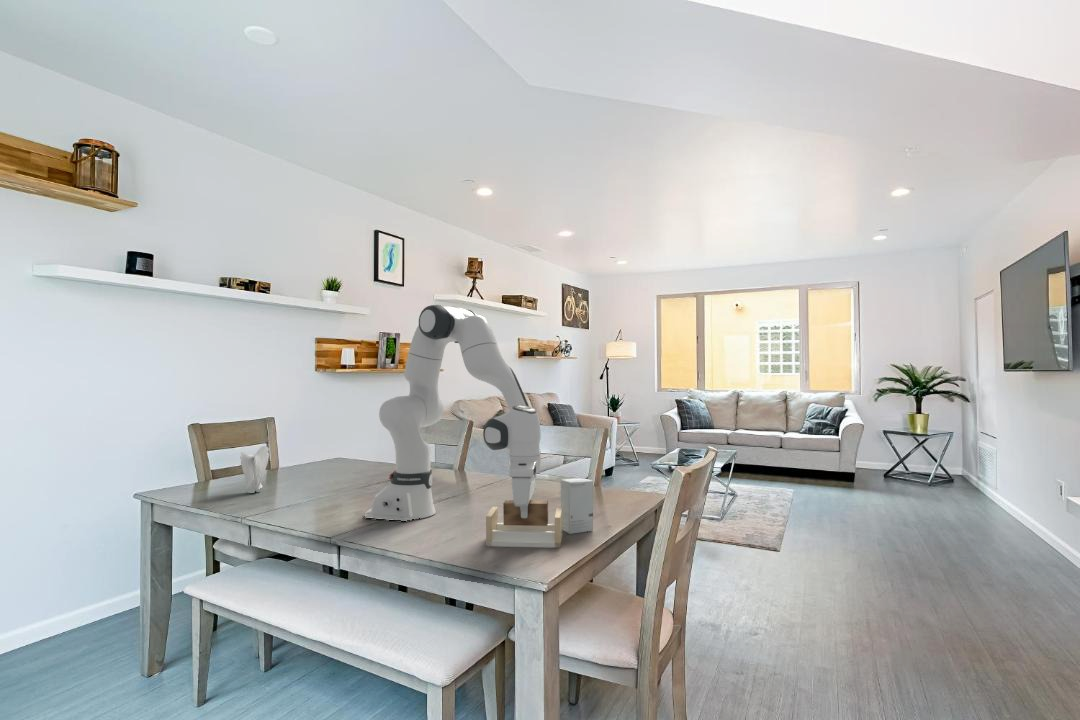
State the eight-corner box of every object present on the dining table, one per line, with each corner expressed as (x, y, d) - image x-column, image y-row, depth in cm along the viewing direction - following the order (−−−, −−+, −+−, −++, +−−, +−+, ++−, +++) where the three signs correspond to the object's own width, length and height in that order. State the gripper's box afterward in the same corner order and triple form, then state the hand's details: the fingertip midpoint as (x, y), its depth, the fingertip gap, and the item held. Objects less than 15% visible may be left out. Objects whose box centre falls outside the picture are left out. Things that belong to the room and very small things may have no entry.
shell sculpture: (237, 495, 209) (237, 447, 209) (252, 490, 217) (251, 444, 217) (256, 495, 207) (256, 448, 208) (270, 490, 216) (270, 445, 216)
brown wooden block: (503, 525, 150) (503, 503, 150) (505, 521, 153) (505, 500, 154) (547, 525, 149) (546, 503, 149) (548, 522, 152) (547, 500, 152)
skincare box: (569, 534, 156) (568, 482, 156) (559, 529, 162) (559, 478, 162) (594, 531, 160) (594, 480, 160) (584, 525, 165) (584, 476, 165)
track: (486, 546, 147) (486, 516, 147) (492, 534, 157) (492, 506, 157) (560, 547, 145) (560, 517, 145) (562, 536, 155) (562, 507, 155)
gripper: (518, 458, 162) (519, 505, 162) (508, 471, 142) (508, 525, 141) (539, 458, 161) (540, 505, 161) (532, 471, 141) (533, 525, 141)
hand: (525, 515), depth 151 cm, fingers closed on brown wooden block, 4 cm apart
